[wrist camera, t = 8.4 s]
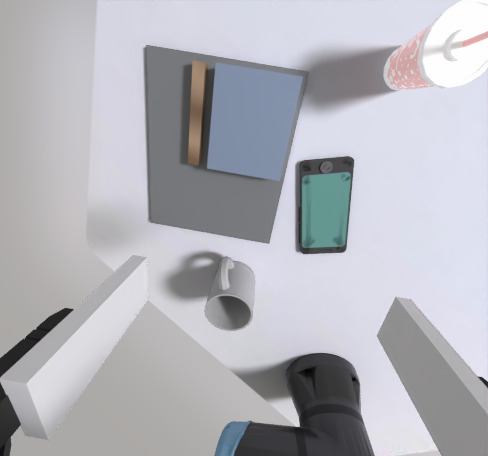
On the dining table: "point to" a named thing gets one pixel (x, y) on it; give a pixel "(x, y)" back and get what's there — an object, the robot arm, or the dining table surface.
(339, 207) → the smartphone
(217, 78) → the blue-grey flat block
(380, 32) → the dining table surface
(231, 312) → the cup
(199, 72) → the strip
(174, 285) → the dining table surface
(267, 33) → the dining table surface
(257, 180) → the mat
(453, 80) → the beverage cup
